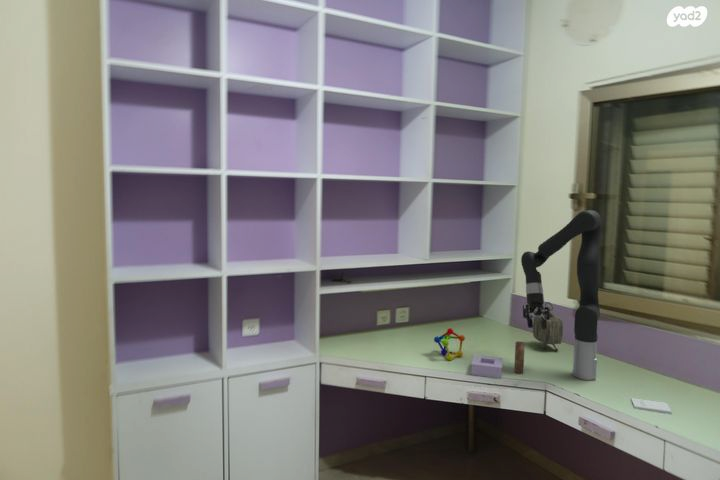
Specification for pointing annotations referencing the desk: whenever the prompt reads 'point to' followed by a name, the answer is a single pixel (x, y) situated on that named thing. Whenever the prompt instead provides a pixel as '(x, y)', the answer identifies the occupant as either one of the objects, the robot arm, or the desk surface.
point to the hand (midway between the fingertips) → (537, 328)
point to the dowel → (519, 357)
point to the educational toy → (445, 343)
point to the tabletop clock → (548, 330)
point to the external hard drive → (651, 405)
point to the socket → (487, 366)
